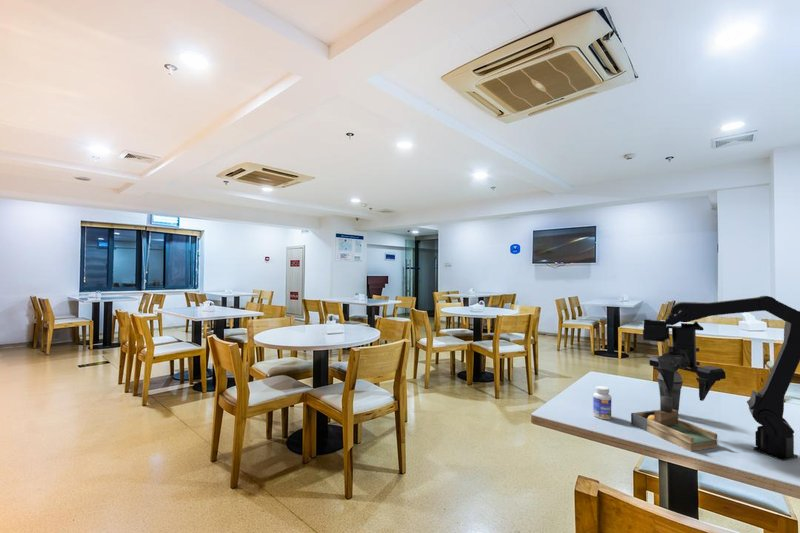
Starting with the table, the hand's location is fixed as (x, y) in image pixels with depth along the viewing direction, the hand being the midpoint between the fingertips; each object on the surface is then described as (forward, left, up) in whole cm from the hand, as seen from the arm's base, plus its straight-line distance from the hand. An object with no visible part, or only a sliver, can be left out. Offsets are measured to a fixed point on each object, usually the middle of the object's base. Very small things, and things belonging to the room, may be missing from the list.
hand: (685, 395), depth 112 cm
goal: (+7, +5, -12) cm, 14 cm away
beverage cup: (+14, -11, -12) cm, 21 cm away
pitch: (-2, +5, -12) cm, 13 cm away
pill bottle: (+18, +14, -12) cm, 25 cm away
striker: (+2, +5, -10) cm, 11 cm away
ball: (+8, +5, -8) cm, 12 cm away
